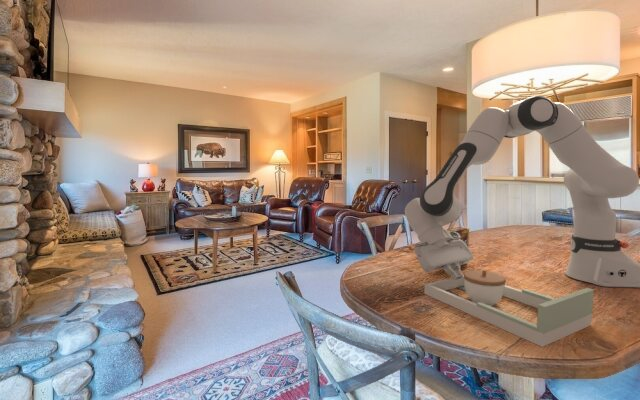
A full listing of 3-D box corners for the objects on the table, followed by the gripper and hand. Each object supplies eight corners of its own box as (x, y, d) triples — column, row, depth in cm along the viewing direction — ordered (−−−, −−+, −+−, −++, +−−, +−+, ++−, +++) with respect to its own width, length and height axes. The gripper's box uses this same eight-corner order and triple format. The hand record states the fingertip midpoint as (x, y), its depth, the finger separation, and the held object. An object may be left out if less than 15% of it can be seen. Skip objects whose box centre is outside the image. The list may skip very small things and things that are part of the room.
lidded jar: (498, 313, 88) (500, 279, 87) (457, 302, 95) (458, 271, 94) (508, 300, 96) (510, 269, 95) (469, 292, 103) (470, 262, 102)
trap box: (424, 293, 102) (424, 284, 102) (469, 282, 111) (469, 273, 111) (542, 346, 72) (542, 333, 71) (590, 325, 81) (591, 313, 81)
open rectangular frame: (476, 306, 86) (477, 283, 85) (524, 291, 95) (525, 271, 94) (543, 334, 71) (544, 307, 71) (592, 313, 81) (594, 289, 80)
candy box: (454, 271, 123) (455, 230, 122) (444, 268, 127) (445, 228, 125) (468, 266, 128) (469, 227, 127) (458, 264, 132) (459, 226, 130)
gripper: (416, 239, 103) (440, 279, 96) (462, 232, 113) (486, 268, 105) (406, 250, 108) (428, 289, 100) (451, 242, 117) (474, 277, 110)
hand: (458, 278), depth 103 cm, fingers closed
